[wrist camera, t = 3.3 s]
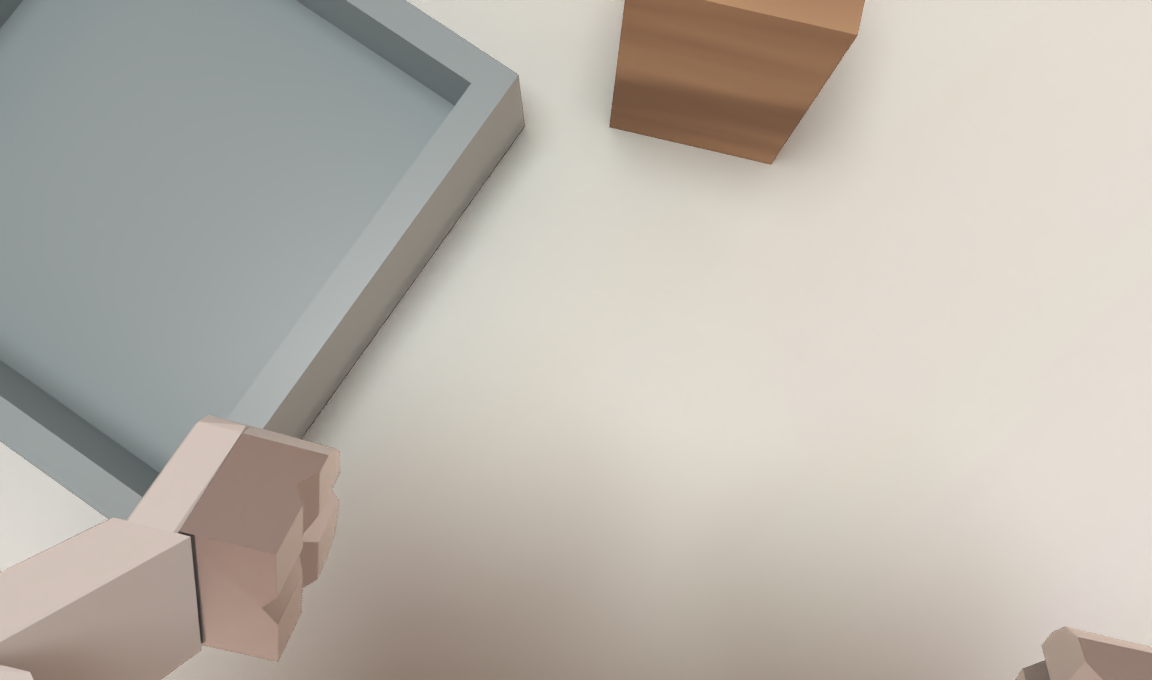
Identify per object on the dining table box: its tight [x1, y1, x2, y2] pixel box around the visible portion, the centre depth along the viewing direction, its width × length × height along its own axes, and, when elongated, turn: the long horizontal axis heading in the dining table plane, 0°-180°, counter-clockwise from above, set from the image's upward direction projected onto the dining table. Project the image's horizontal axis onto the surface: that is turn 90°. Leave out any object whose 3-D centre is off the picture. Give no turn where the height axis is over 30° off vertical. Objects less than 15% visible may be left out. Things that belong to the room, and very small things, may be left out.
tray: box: [0, 0, 525, 520], centre depth 24 cm, size 14×14×4 cm
